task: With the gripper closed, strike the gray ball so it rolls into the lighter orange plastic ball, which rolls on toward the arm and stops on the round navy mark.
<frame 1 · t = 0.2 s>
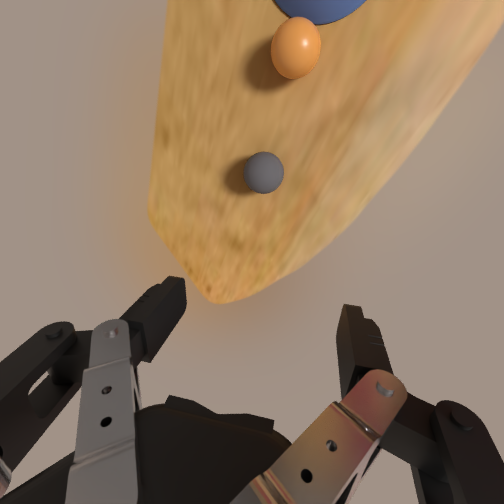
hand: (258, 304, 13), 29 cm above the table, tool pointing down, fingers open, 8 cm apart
gray ball: (263, 173, 36), on the table
object ball: (295, 49, 30), on the table
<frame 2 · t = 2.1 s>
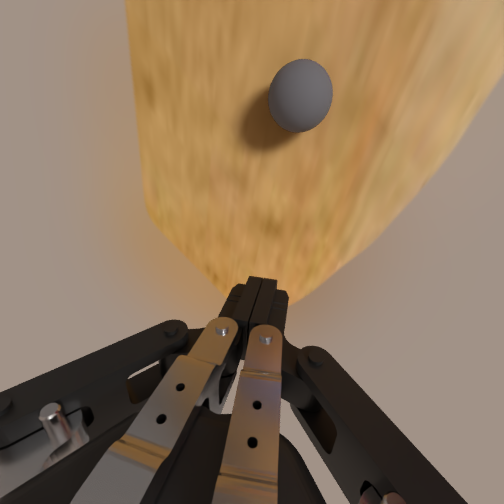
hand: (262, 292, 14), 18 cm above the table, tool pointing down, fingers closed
gray ball: (299, 97, 23), on the table
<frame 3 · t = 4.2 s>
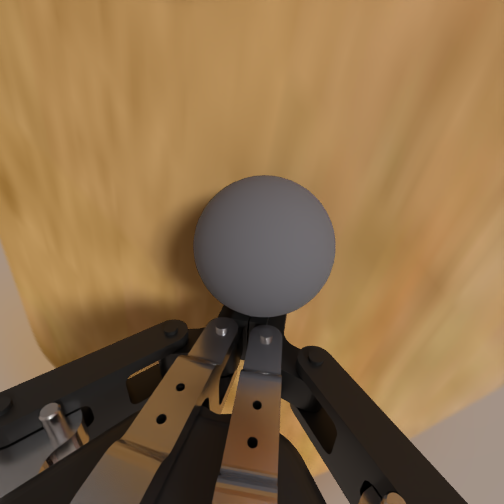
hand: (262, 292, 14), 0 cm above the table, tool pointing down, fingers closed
gray ball: (263, 246, 11), on the table, touching gripper
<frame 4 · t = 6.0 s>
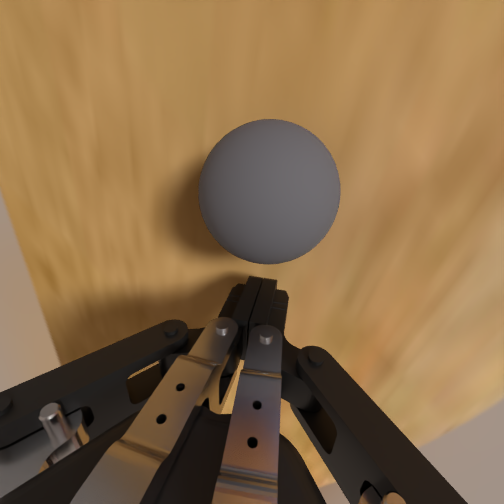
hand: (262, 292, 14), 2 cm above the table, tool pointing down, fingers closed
gray ball: (268, 195, 11), on the table
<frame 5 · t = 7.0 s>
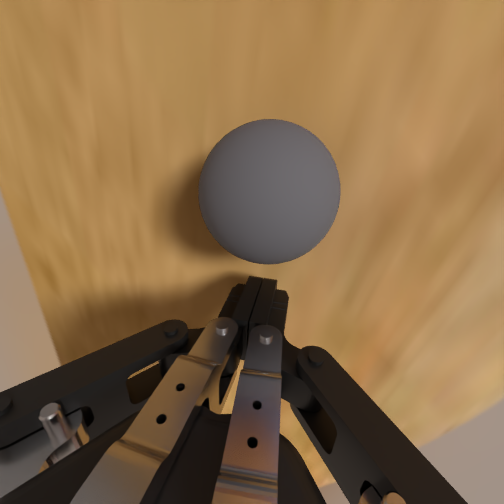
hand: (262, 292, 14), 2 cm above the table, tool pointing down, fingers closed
gray ball: (268, 195, 11), on the table
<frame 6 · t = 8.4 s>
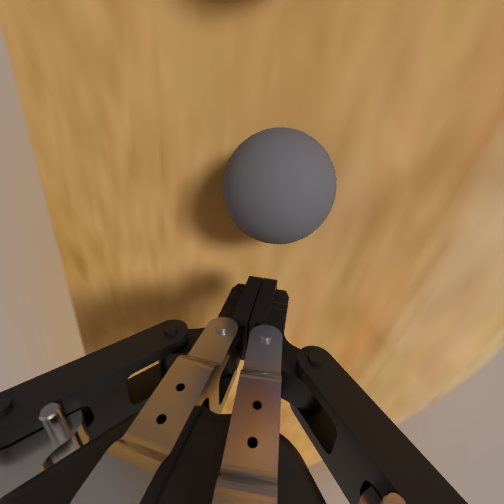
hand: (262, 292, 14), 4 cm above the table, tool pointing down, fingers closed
gray ball: (278, 188, 13), on the table
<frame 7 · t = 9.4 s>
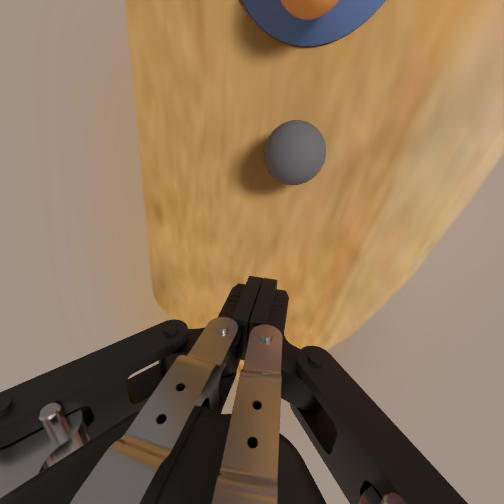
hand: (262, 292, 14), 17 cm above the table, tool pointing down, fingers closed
gray ball: (294, 153, 24), on the table
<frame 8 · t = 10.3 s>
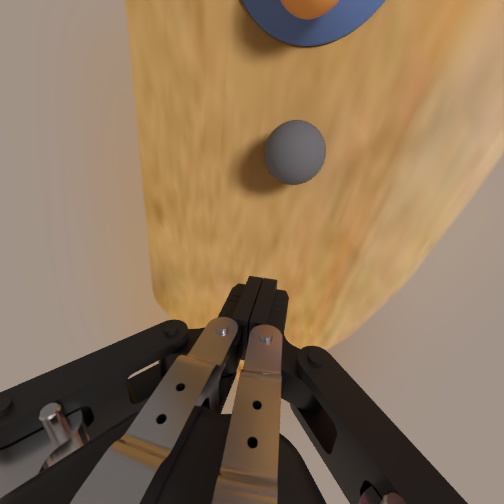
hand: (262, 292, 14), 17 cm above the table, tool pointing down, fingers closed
gray ball: (294, 153, 24), on the table
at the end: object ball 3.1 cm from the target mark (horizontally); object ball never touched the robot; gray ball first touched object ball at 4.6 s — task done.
